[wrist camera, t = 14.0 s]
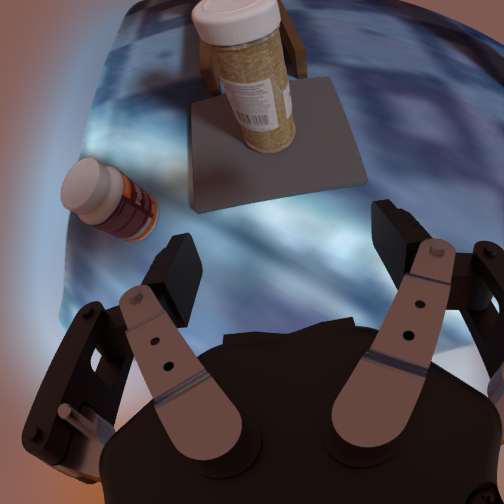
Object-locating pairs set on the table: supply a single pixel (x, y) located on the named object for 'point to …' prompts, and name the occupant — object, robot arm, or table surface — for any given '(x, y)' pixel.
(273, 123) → the sprinkles bottle
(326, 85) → the rubber mat
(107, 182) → the pill bottle
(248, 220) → the table surface
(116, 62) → the table surface
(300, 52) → the shelf lane
